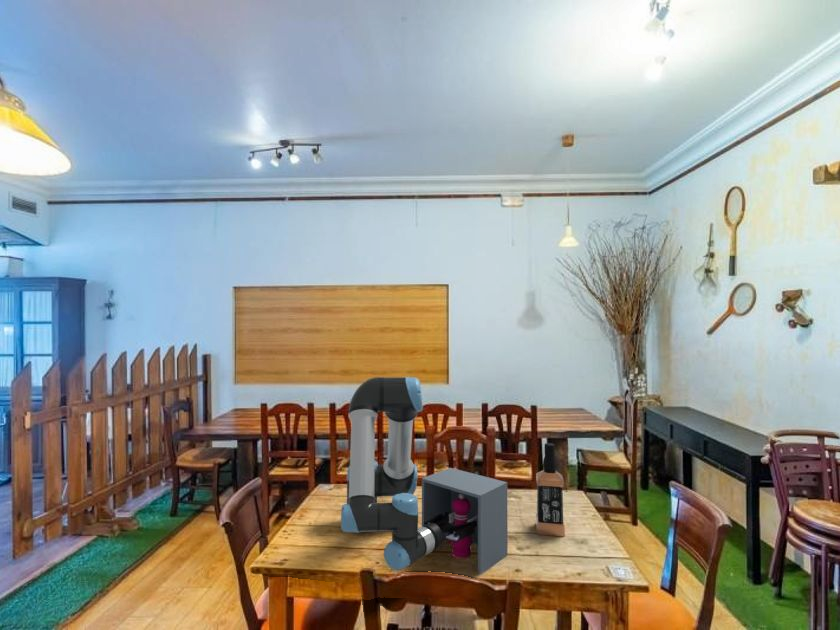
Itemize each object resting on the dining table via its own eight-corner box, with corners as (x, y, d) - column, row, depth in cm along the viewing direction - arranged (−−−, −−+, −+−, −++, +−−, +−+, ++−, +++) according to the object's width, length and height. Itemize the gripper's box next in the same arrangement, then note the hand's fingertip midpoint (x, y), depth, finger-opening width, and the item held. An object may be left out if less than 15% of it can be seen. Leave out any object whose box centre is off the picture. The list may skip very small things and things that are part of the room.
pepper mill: (454, 560, 148) (455, 498, 148) (447, 550, 155) (447, 490, 155) (475, 557, 150) (475, 496, 150) (467, 547, 157) (467, 488, 157)
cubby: (421, 549, 155) (421, 478, 156) (450, 533, 167) (450, 467, 168) (480, 574, 139) (480, 495, 140) (507, 555, 151) (507, 482, 152)
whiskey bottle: (565, 537, 165) (564, 448, 166) (537, 534, 167) (536, 446, 168) (562, 524, 175) (561, 441, 176) (535, 522, 177) (535, 439, 178)
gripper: (403, 541, 145) (447, 518, 163) (452, 562, 132) (494, 535, 150) (403, 517, 146) (447, 497, 163) (452, 536, 133) (494, 512, 150)
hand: (470, 515), depth 156 cm, fingers open, 7 cm apart
